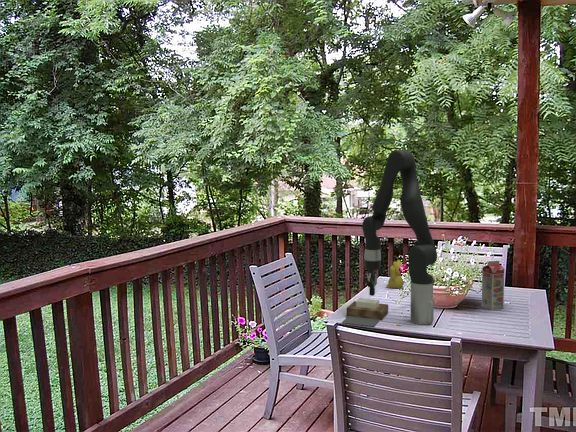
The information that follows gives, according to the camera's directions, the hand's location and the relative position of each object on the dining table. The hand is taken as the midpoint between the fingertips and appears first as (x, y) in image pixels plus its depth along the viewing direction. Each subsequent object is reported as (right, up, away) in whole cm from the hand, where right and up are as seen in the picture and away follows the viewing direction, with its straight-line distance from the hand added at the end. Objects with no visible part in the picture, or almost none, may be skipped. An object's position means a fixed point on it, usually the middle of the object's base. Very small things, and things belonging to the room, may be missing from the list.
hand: (372, 295), depth 230 cm
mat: (-8, -9, -17) cm, 21 cm away
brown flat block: (-3, -8, -7) cm, 11 cm away
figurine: (+20, -3, +41) cm, 46 cm away
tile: (-3, -3, -8) cm, 9 cm away
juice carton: (+56, -6, 0) cm, 57 cm away
